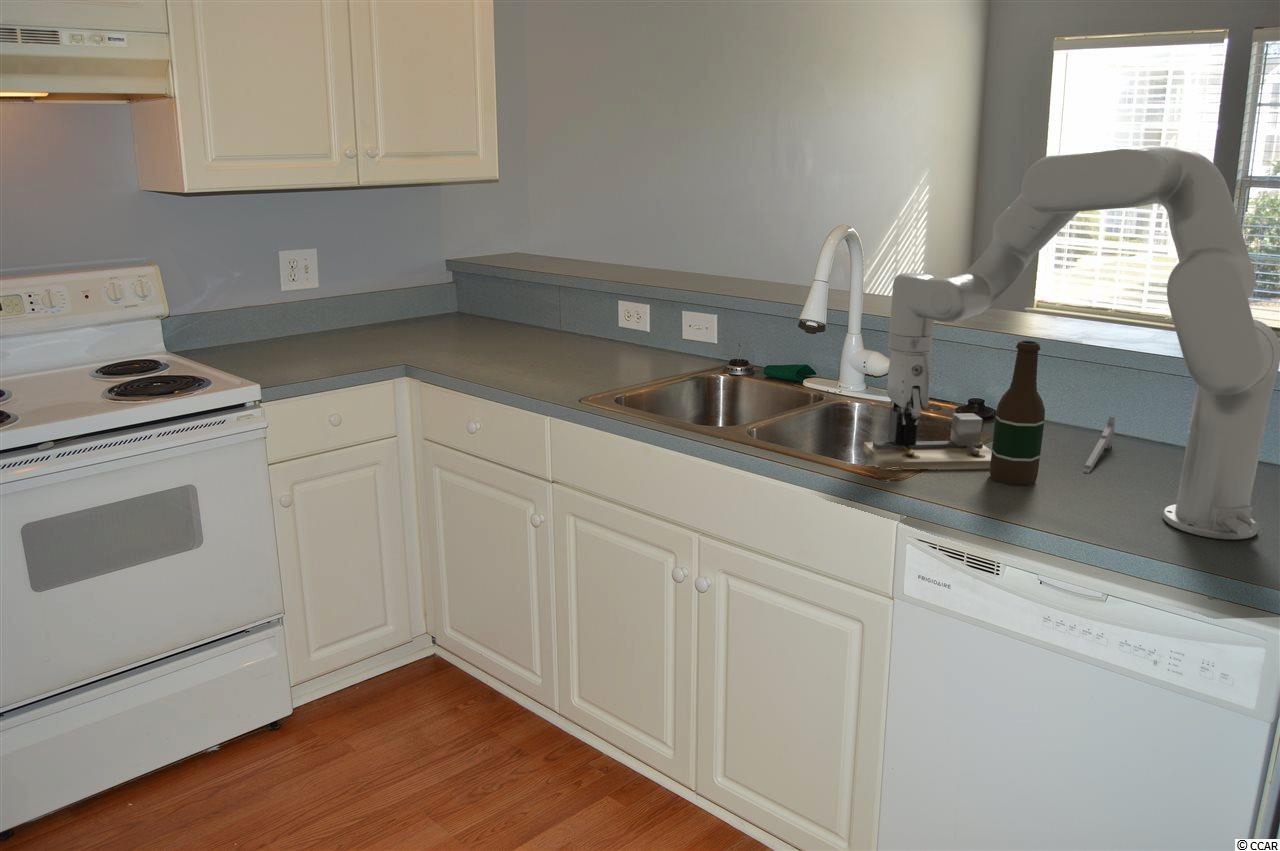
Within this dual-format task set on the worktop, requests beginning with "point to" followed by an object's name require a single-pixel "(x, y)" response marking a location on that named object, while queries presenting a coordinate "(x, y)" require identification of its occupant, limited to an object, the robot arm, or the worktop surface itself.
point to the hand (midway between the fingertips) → (901, 440)
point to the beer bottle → (1019, 423)
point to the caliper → (1101, 445)
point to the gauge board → (938, 449)
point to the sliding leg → (893, 428)
